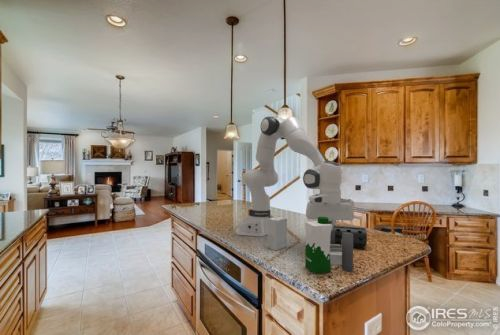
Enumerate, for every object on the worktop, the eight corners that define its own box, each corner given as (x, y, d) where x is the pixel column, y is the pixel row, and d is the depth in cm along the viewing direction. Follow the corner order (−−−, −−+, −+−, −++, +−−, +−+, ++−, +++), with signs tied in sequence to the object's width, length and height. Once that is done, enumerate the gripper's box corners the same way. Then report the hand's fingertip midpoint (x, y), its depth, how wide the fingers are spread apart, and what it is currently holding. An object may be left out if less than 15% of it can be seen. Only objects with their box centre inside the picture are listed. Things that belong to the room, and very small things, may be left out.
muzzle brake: (366, 251, 114) (367, 229, 114) (307, 245, 122) (307, 225, 122) (363, 245, 123) (363, 225, 123) (308, 240, 131) (308, 221, 132)
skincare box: (278, 244, 122) (278, 215, 122) (287, 247, 117) (287, 217, 118) (266, 248, 116) (267, 217, 117) (275, 251, 112) (276, 219, 112)
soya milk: (334, 273, 89) (334, 219, 89) (312, 275, 87) (312, 220, 87) (322, 264, 97) (322, 215, 97) (301, 265, 95) (302, 216, 95)
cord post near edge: (344, 271, 90) (344, 234, 90) (340, 267, 94) (340, 232, 94) (354, 271, 90) (354, 235, 90) (350, 267, 94) (350, 232, 94)
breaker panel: (324, 264, 97) (324, 250, 97) (316, 252, 111) (316, 240, 111) (351, 265, 96) (352, 251, 96) (340, 253, 110) (340, 241, 110)
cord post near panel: (327, 251, 112) (327, 222, 112) (324, 249, 116) (325, 220, 116) (335, 252, 112) (336, 222, 112) (333, 249, 116) (333, 220, 116)
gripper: (351, 198, 106) (350, 228, 106) (305, 196, 107) (304, 227, 107) (357, 200, 100) (356, 232, 100) (308, 198, 101) (307, 230, 101)
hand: (329, 229), depth 103 cm, fingers closed
